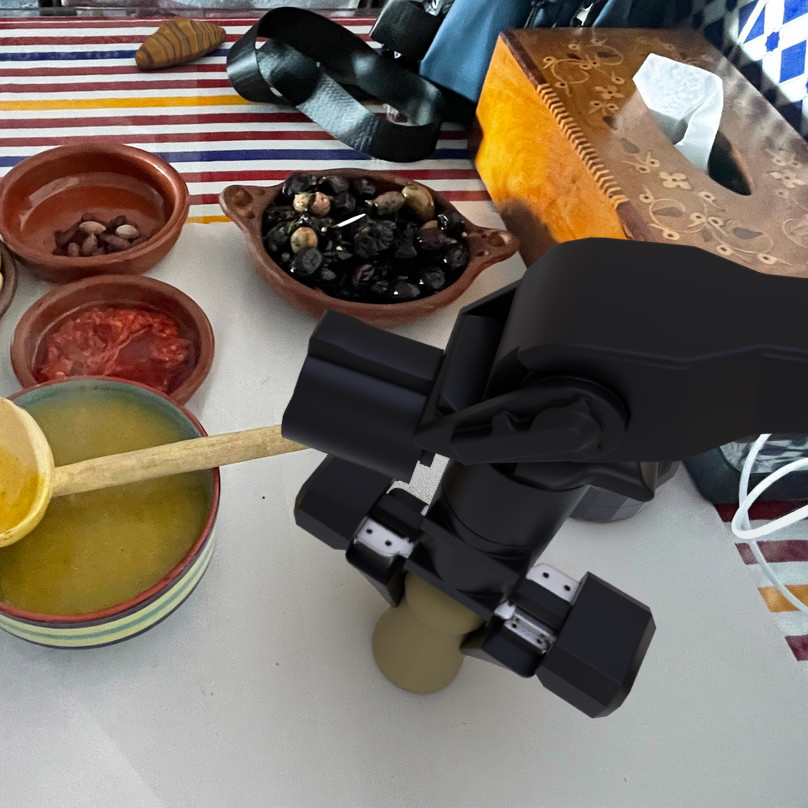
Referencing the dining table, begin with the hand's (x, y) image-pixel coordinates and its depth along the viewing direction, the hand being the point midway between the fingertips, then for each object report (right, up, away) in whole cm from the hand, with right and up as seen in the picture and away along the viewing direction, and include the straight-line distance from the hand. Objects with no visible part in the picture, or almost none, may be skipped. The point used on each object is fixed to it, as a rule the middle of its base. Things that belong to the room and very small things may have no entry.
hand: (430, 624), depth 47 cm
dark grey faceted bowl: (+15, +9, +14) cm, 23 cm away
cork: (0, -2, +3) cm, 4 cm away
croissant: (-21, +58, +50) cm, 80 cm away
